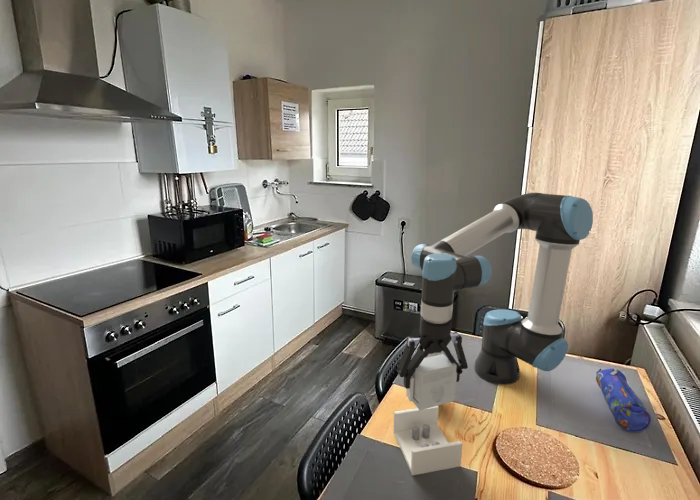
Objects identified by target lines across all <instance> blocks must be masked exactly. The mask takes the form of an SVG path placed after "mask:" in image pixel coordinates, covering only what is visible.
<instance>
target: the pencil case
mask: <svg viewBox="0 0 700 500" xmlns="http://www.w3.org/2000/svg"><path fill="white" fill-rule="evenodd" d="M595 373H596V376H595V380H596V383H597V385H598V387H599V388H600V390H601V392H602V395H603V396H604V400H605V402H606V404H607V406H608V409H609V410H610V412H611V414H612V416H613V417H614V420H615V423H616V425H617V427H619V428H620V429H621V430H623V431H624V432H630V433H640V432H643V431H645V430H647V429H648V428H649V427H650V425H651V422H652V416H651V414H650V412H649V410H648V409H647V408H646V407H645V405H644V404H643V402H642V400H640V398H639V397H638V395H637V394H636V393H635V391H634V390H633V389H632V388H631V386H630V385H629V383H628V382H627V381H628V380H627V377H626V375H625V374H624V373H623V372H622V371H621V370H619V369H618V368H606V369H602V368H600V369H598V370H597V371H595Z"/></svg>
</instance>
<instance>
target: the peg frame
mask: <svg viewBox="0 0 700 500" xmlns="http://www.w3.org/2000/svg"><path fill="white" fill-rule="evenodd" d="M438 421H439V405H438V406H435V407H431V408H427V409H424V410H419V409H418V408H417V407H415V408H409V409H402V410H397V411H393V429H392V430H393V434H394V437H395V439H396V442H397V444H398V445H399V449H400V450H401V453H402V456H403V457H404V460H405V462H406V465H407V466H408V469H409V471H410V473H411V476H416V475H422V474H427V473H432V472H437V471H442V470H443V471H445V470H448V469H453V468H460V467H461V465H462V456H463V455H462V454H463V452H462V451H463V443H462V441H461V440H458V441H452V442H448V440H447V437H446V436H445V435H444V433H443V432H442V430H441V428H440V426H439V425H438V424H439V422H438Z"/></svg>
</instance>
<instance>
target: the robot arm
mask: <svg viewBox="0 0 700 500" xmlns="http://www.w3.org/2000/svg"><path fill="white" fill-rule="evenodd" d="M593 215H594V214H593V209H592V207H591V205H590V203H589V202H588V200H586V199H585V198H582V197H578V196H573V195H564V194H555V193H554V194H553V193H543V192H528V193H522V194H520V195H517V196H514V197H512V198H509V199H507V200H505V201H503V202H501V203H499V204H497V205H496V206H495V207H494V208H493V209H492V211H491V212H489V213H487V214H486V215H484V216H482V217H480V218H478V219H477V220H475V221H473V222H472V223H469V224H468V225H466V226H464V227H461V228H460V229H459V230H457V231H455V232H454V233H451V234H450V235H448V236H446V237H444V238H442V239H441V240H439V241H437V242H435V243H433V244H427V243H425V244H424V243H421V244H420V243H419V244H418V245H416V246H415V247H414V248H413V249H412V252H411V256H410V260H411V265H412V266H413V267H414V268H416V269H417V270H419V271H421V275H422V278H421V303H420V317H419V318H420V319H419V320H420V321H419V335H418V337H413V338H412V337H411V336H407V338H406V346H405V348H404V351H403V352H402V355H401V358H400V360H399V363H398V365H397V368H396V372H397V374H398V375H399V377H400V378H403V386H404V388H405V390H406V391H405V392H406V394H405V395H406V397H407V399H408V401H409V402H412V401H413V388H414V378H413V376H412V375H413V374H414V372H415V371H416V368H418V366H419V365H420V363H421V362H422V361H423V359H424V358H425V357H427V356H428V354H433V353H437V354H442V353H443V354H444V355H445V356H446V357H447V358H448V360H449V361H450V362H451V363H455V364H456V365H457V368H456V382H455V393H457V392H456V390H457V383H458V382H460V375H461V374H463V372H464V371H463V370H467V369H468V367H469V366H468V362H467V359H466V355H465V352H464V348H463V344H462V343H463V336H462V335H461V334H460V333H458V331H454V332H453V333H451V331H452V318H453V309H454V307H453V306H454V297H455V293H456V292H459V291H463V290H466V289H471V288H475V287H480V286H481V285H484V284H486V283H487V282H489V281H490V279H491V277H492V270H493V269H492V265H491V263H490V261H489V260H488V259H487V258H486V257H484V256H482V255H471V254H472V253H473V252H475V251H477V250H479V249H480V248H482V247H484V246H485V245H487V244H488V243H490V242H492V241H494V240H495V239H497V238H499V237H501V236H502V235H504V234H507V233H510V234H511V233H513V232H516V231H518V230H528V231H529V230H530V231H534V232H535V241H536V242H537V243H538V244H539V246H538V253H537V260H536V265H535V272H534V276H533V283H532V290H531V294H530V301H529V306H528V313H527V317H525V318H523V319H522V315H521V314H520V312H518V311H515V310H512V309H511V310H510V309H493V310H489V311H488V312H486V313H485V315H484V319H483V323H482V324H483V325H482V339H481V349H480V352H479V353H478V356H477V358H476V360H475V361H474V371H475V373H476V374H477V376H479V377H480V378H482V379H483V380H485V381H487V382H490V383H494V384H497V385H511V384H514V383H516V382H517V381H519V378H520V373H521V372H520V371H521V370H520V365H519V361H518V359H519V360H520V361H523V362H524V363H527V364H528V365H530V366H532V367H533V368H537V369H538V370H541V371H543V372H550V371H551V372H552V371H553V370H555V369H556V368H558V366H559V365H560V364H561V363H562V361H564V359H565V357H566V354H567V352H568V350H569V344H568V340H566V339H565V338H564V337H562V335H563V329H562V327H561V326H560V324H559V319H560V314H561V310H562V304H563V298H564V295H565V288H566V283H567V277H568V273H569V272H568V271H569V269H570V261H571V258H572V257H571V256H572V250H573V249H574V248H576V247H577V246H579V245H580V241H581V240H585V239H586V238H587V237H588V236H589V235H590V232H591V229H592V227H593V221H594V216H593ZM468 255H470V256H468ZM451 341H452V343H453V347H454V350H455V354H456V357H457V360H458V362H457V360H456V358H455V357H454V355H452V353H451V351H450V349H449V348H448V345H449V344H450V342H451ZM418 344H419V346H417V345H418ZM415 349H416V352H415ZM423 349H424V351H423ZM414 352H415V353H414Z"/></svg>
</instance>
